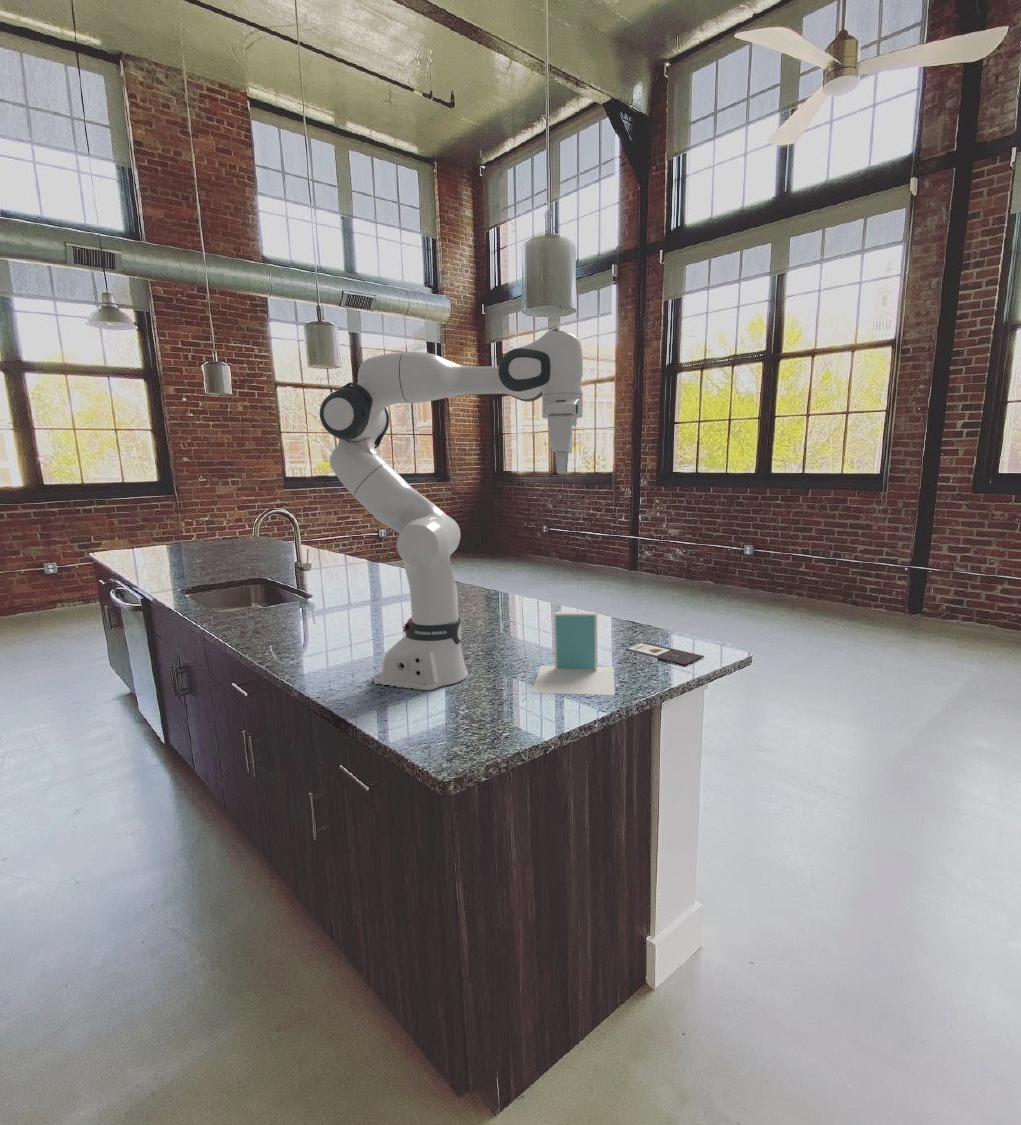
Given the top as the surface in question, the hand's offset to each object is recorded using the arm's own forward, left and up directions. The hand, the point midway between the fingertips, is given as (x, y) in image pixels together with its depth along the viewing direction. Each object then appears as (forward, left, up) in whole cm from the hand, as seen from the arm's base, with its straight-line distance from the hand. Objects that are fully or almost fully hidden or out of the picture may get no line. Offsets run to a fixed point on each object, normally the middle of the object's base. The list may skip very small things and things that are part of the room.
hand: (562, 473), depth 133 cm
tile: (+2, +6, -47) cm, 48 cm away
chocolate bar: (+24, +20, -49) cm, 58 cm away
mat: (+2, -1, -48) cm, 48 cm away
